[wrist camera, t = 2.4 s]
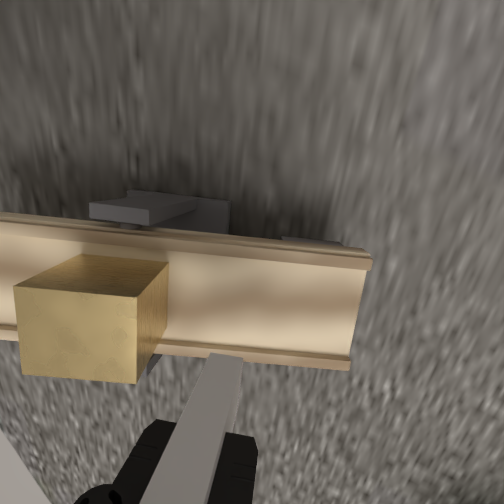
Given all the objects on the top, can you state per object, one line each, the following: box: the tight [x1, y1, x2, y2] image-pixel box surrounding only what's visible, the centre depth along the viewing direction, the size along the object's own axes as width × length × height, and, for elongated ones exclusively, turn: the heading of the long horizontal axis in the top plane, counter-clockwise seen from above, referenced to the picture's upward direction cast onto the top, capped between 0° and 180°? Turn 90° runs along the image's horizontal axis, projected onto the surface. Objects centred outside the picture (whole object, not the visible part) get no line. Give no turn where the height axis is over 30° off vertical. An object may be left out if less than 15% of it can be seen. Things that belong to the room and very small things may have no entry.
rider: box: [13, 254, 169, 384], centre depth 18 cm, size 5×6×6 cm
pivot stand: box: [89, 190, 231, 377], centre depth 26 cm, size 12×10×12 cm
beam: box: [0, 212, 373, 371], centre depth 23 cm, size 10×33×8 cm, turn 84°
